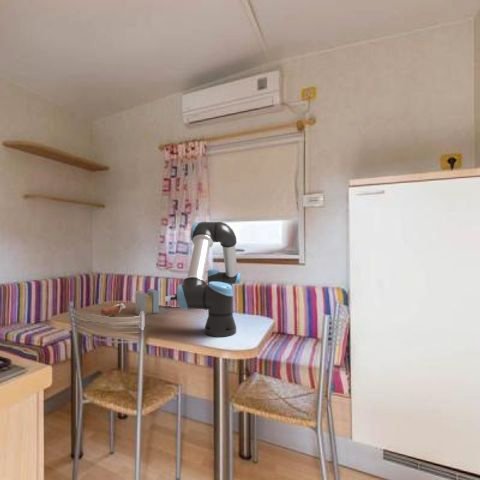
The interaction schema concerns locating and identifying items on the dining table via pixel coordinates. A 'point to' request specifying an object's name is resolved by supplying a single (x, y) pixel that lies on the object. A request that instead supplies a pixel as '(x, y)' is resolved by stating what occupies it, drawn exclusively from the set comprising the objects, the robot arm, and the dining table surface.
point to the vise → (144, 303)
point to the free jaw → (154, 299)
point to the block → (149, 304)
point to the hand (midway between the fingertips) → (164, 298)
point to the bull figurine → (112, 310)
